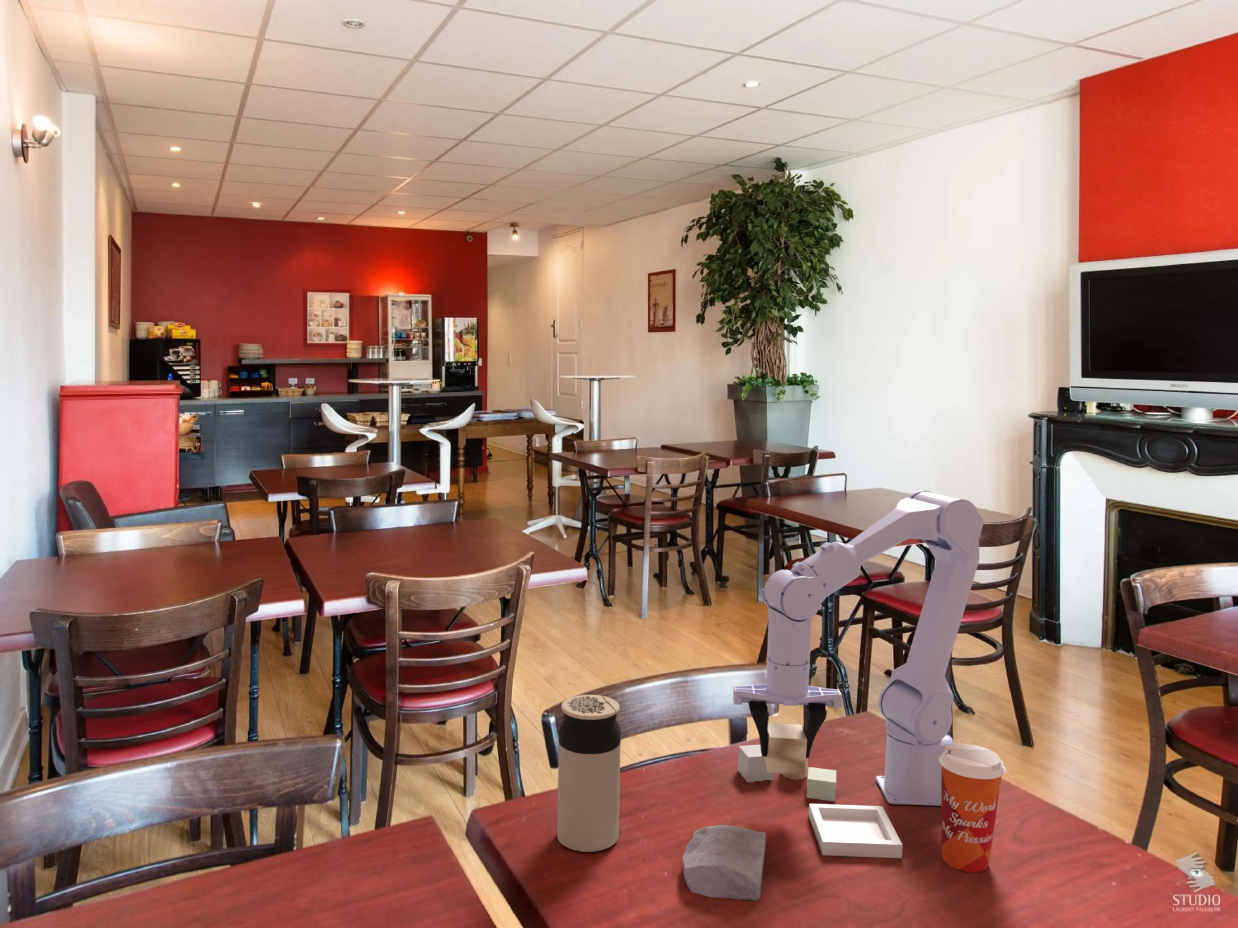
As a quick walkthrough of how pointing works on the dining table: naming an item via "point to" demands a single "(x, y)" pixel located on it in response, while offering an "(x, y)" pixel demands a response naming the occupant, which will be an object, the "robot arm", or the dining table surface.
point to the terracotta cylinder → (798, 776)
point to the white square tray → (854, 831)
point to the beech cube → (786, 749)
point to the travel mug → (589, 773)
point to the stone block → (725, 862)
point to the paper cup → (969, 805)
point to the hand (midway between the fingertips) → (784, 754)
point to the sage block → (821, 784)
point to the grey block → (752, 764)
